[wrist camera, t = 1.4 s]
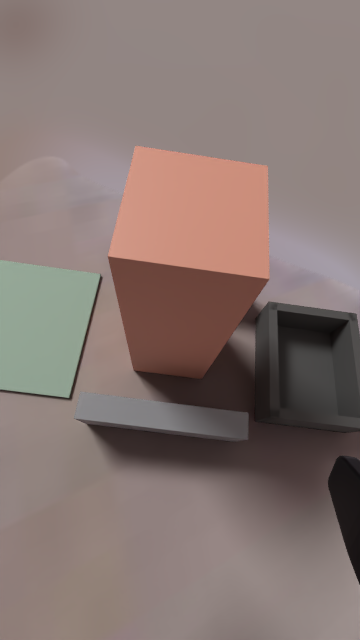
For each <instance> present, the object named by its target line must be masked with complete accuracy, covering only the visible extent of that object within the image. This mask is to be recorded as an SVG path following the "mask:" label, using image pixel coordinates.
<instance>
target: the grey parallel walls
mask: <svg viewBox="0 0 360 640" xmlns="http://www.w3.org/2000/svg"><path fill="white" fill-rule="evenodd" d="M74 419H77V420H79V421H81V422H84V423H86V424H93V425H101V426H109V427H117V428H126V429H134V430H142V431H150V432H158V433H166V434H175V435H183V436H191V437H199V438H207V439H215V440H224V441H232V442H235V441H242V440H248V419H249V413H246V412H238V411H230V410H222V409H214V408H206V407H198V406H190V405H182V404H175V403H167V402H159V401H151V400H143V399H135V398H127V397H119V396H111V395H103V394H95V393H87V392H80V395H79V399H78V403H77V408H76V412H75V416H74Z"/></svg>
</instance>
